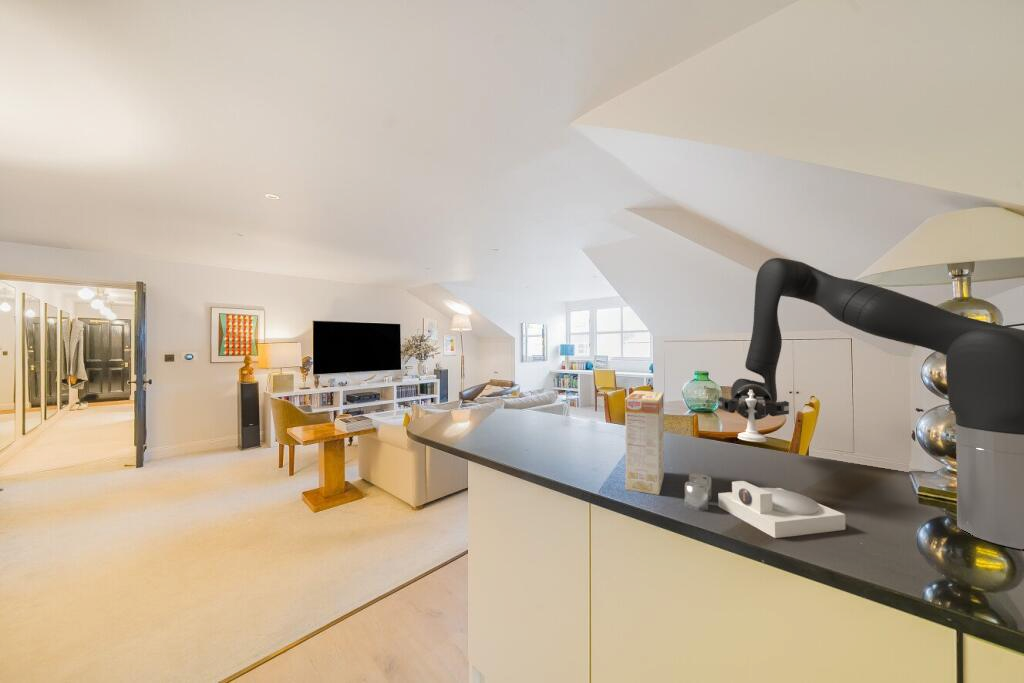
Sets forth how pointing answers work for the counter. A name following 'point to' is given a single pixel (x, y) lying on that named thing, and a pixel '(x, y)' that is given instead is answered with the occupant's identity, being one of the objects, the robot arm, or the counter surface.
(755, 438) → the chess piece
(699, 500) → the spacer
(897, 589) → the counter surface
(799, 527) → the scale
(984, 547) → the counter surface
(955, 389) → the robot arm
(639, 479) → the coffeecake box
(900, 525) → the counter surface
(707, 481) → the spacer
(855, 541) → the counter surface
